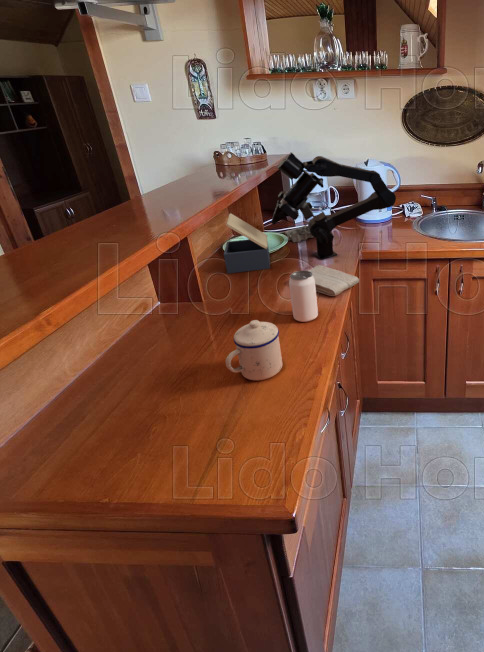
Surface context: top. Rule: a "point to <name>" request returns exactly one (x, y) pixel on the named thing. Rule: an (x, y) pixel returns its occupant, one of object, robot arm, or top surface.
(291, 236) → the egg carton
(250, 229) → the lid
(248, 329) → the teacup with lid
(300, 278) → the can
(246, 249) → the toy box
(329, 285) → the washcloth
